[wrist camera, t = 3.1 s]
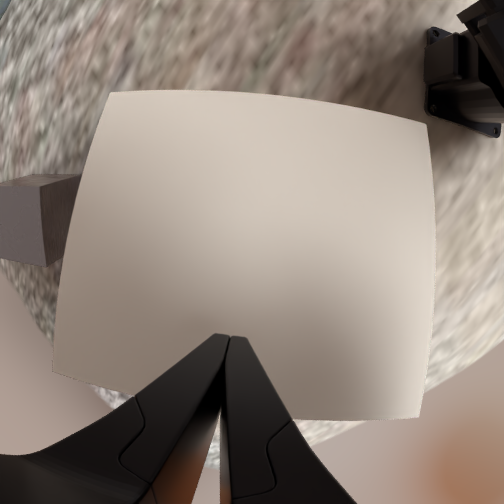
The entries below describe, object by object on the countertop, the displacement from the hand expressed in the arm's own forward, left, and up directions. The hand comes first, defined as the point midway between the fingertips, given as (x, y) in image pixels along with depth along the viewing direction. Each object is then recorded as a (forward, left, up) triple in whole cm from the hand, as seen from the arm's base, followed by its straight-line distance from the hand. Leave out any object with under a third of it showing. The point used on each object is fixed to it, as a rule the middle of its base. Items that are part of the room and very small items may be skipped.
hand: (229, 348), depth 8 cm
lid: (0, -2, -4) cm, 5 cm away
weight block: (+15, 0, -13) cm, 20 cm away
